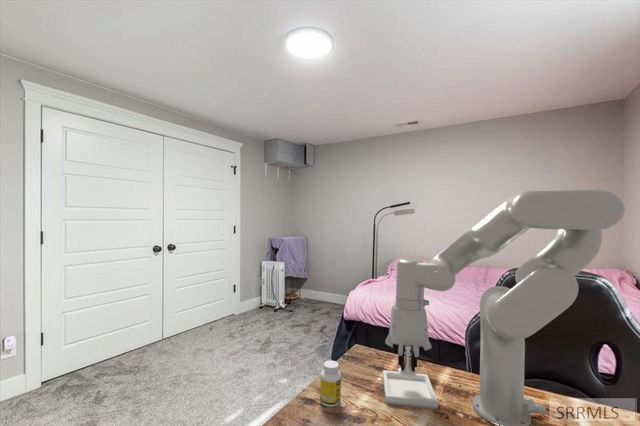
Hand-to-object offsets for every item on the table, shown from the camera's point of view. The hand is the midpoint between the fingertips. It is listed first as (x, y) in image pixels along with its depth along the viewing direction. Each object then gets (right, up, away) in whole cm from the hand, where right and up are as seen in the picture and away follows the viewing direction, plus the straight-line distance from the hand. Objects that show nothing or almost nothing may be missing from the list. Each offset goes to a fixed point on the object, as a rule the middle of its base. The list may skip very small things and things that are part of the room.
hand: (407, 368), depth 83 cm
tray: (0, -7, 0) cm, 7 cm away
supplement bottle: (-22, -6, -5) cm, 23 cm away
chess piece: (0, -2, 0) cm, 2 cm away
